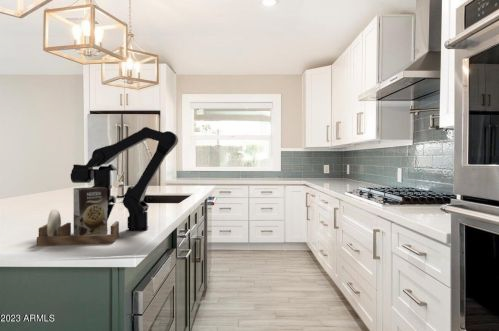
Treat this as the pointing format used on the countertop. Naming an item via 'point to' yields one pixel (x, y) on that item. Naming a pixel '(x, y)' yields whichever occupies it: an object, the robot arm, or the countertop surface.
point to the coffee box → (90, 211)
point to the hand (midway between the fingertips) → (102, 225)
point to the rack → (62, 234)
